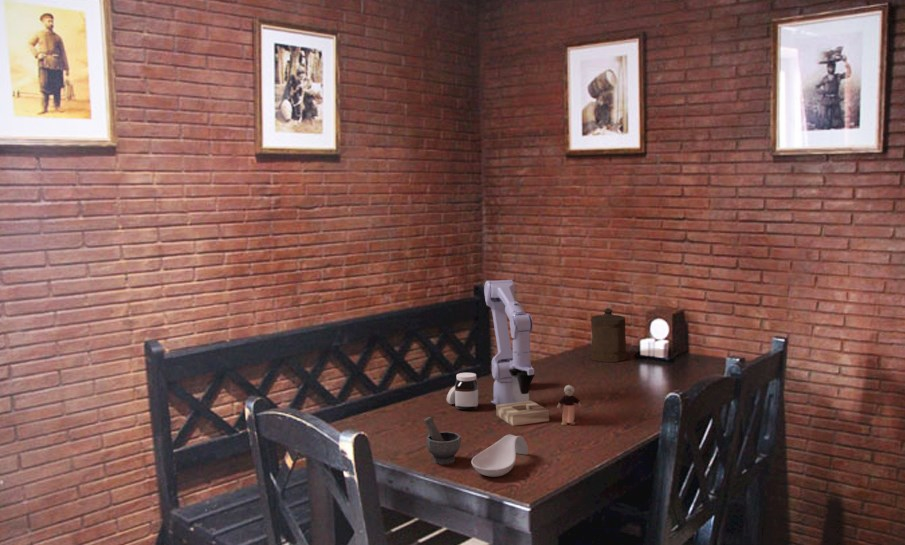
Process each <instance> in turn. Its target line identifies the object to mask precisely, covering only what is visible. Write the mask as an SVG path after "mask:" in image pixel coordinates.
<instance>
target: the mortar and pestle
mask: <svg viewBox="0 0 905 545" xmlns="http://www.w3.org/2000/svg"><path fill="white" fill-rule="evenodd" d="M423 424H425V425H426V429H427V431H428V433H429V434H428V435H427V436H426V437H425V443H426V448H427V450H428V452H429V453H430V454H431V455H432V456H433V458H432V462H433V461H434V462H433V463H434V464H436V463H439V464H438V465H450V464H453V463H455V461H456V454H457V453H458V452H459V449H460V448H461V443H462V435H460V434H459V433H458V432H452V431H439V429H438V427H437V425H436V424H435V421H434V418H433V417H432V416H429V417H426V418H425V419H424V420H423ZM449 463H450V464H449Z"/></svg>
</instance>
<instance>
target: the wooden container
mask: <svg viewBox="0 0 905 545" xmlns="http://www.w3.org/2000/svg"><path fill="white" fill-rule="evenodd" d="M590 319H591V320H590V329H591V330H590V358H591V360H593V361H596V362H600V363H601V362H602V363H617V362H623V361H625V360H627V359H626V358H627V351H626V350H627V342H626V341H627V340H626V338H627V337H626V317H625V316H622V315H617V314H615V315H614V314H613V309H612V308H605V309H604V314H597V315H592V316H591V317H590Z"/></svg>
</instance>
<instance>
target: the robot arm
mask: <svg viewBox="0 0 905 545" xmlns="http://www.w3.org/2000/svg"><path fill="white" fill-rule="evenodd" d="M483 291H484V292H483V294H484V299H485V304H486V306H487V307H489V308H490V310H491V313H492V319H493V326H494V334H495V339H496V341H495V342H496V348H497V353H496V354H495V355H494V356H493V357H492V360H491V374H492V378H493V380H494V382H493V384H492V386H493V387H492V388H493V400H491V401H490V402H491V403H492V404H494V406H496V405H501V404H508V403H516V401H515V400H513V388H512V376H515V375H517V376H518V378H519V381H520V386H521V392H522V394H528V393H529V394H530V388H531V384H532V380H534V377H535V375H536V373H535V368H533V366H532V364H531V332H532V331H533V326H534V325H533V318H532V315H531V314H530V313H528V312H527V313H526V312H525V309H524V307H523V306H522V305H521V303H520V302H519V301H517V300H516V299H515V292H516V288H515V282H514V281H513V280H512V279H502V280H499V279H498V280H486V281H485V283H484V286H483ZM508 320H509V325H508ZM509 329H510V330H509ZM509 331H510V332H509ZM510 336H511V338H512V345H511V338H510ZM512 351H513V352H512Z"/></svg>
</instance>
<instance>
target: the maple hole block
mask: <svg viewBox="0 0 905 545" xmlns="http://www.w3.org/2000/svg"><path fill="white" fill-rule="evenodd" d="M495 408H496V409H495V412H496V414H495V415H496V416H497V417H498V418H500V419H501V420H503V421H505V423H507V424H509V425H510V426H512V427H514V426H523V425H529V424H537V423H542V422H549V421H550V410H549V409H547V408H545V407H544V406H542V405H540V404H538V403H537V402H535V401H532V400H529V401H525V402H516V403H508V404H501V405H495Z"/></svg>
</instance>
